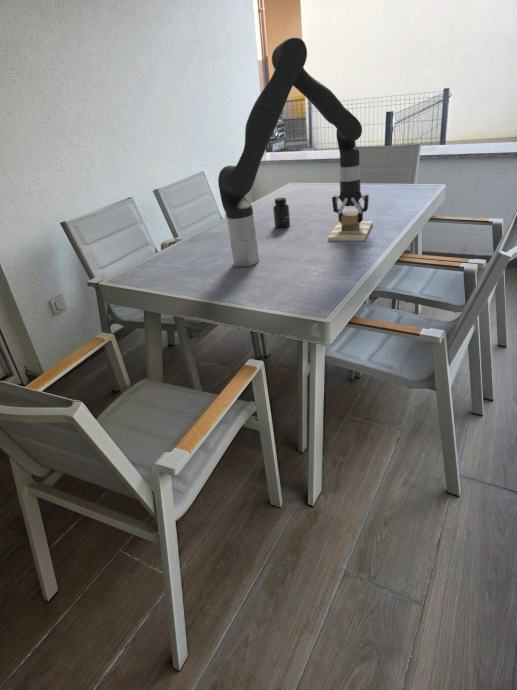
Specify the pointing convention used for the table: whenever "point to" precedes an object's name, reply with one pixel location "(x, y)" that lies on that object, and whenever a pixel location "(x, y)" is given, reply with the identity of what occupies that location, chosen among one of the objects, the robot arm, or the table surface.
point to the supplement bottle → (281, 213)
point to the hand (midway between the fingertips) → (350, 222)
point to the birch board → (351, 232)
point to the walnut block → (350, 221)
